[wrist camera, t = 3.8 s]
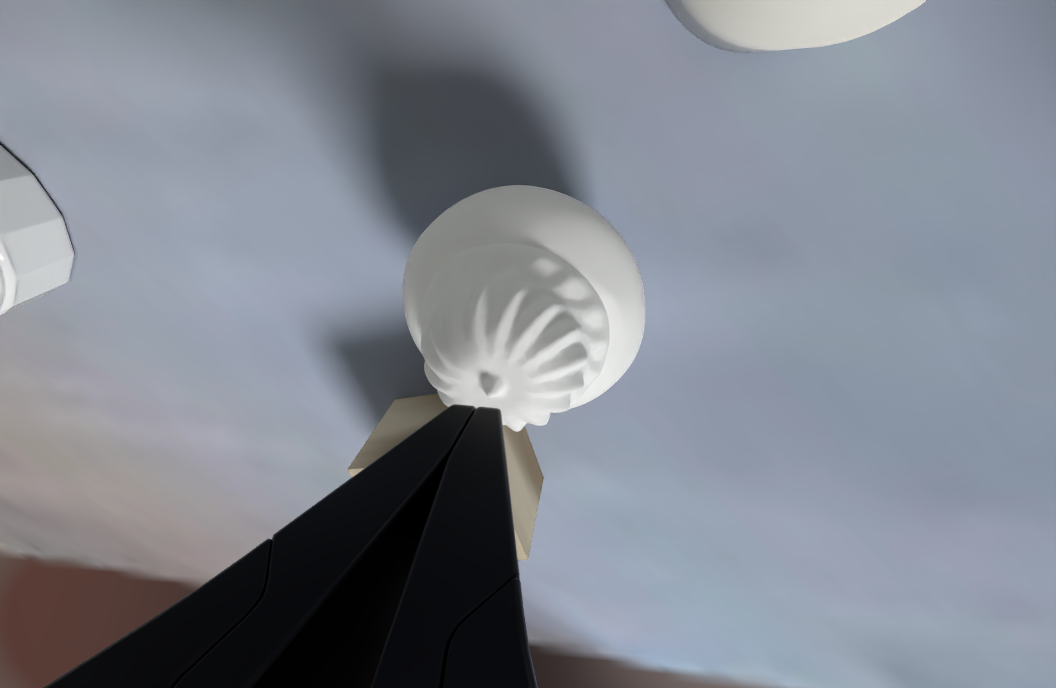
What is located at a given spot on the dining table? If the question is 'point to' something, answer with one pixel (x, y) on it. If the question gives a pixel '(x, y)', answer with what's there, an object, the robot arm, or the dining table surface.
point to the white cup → (29, 238)
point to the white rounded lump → (785, 21)
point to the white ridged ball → (523, 303)
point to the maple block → (519, 455)
